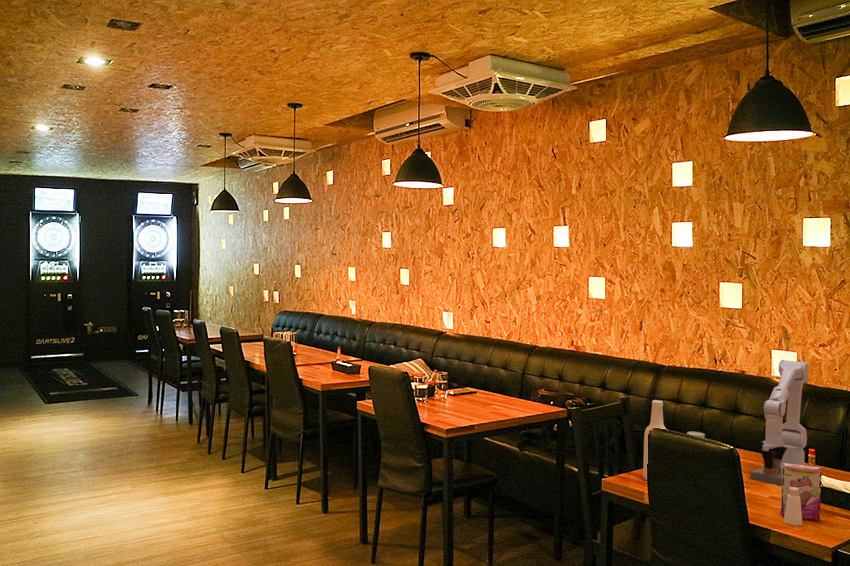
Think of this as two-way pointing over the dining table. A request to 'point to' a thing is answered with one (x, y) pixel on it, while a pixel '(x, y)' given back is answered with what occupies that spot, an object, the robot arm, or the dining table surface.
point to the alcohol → (654, 423)
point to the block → (774, 467)
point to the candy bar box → (802, 488)
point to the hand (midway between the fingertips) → (772, 466)
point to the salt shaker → (793, 508)
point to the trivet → (766, 476)
